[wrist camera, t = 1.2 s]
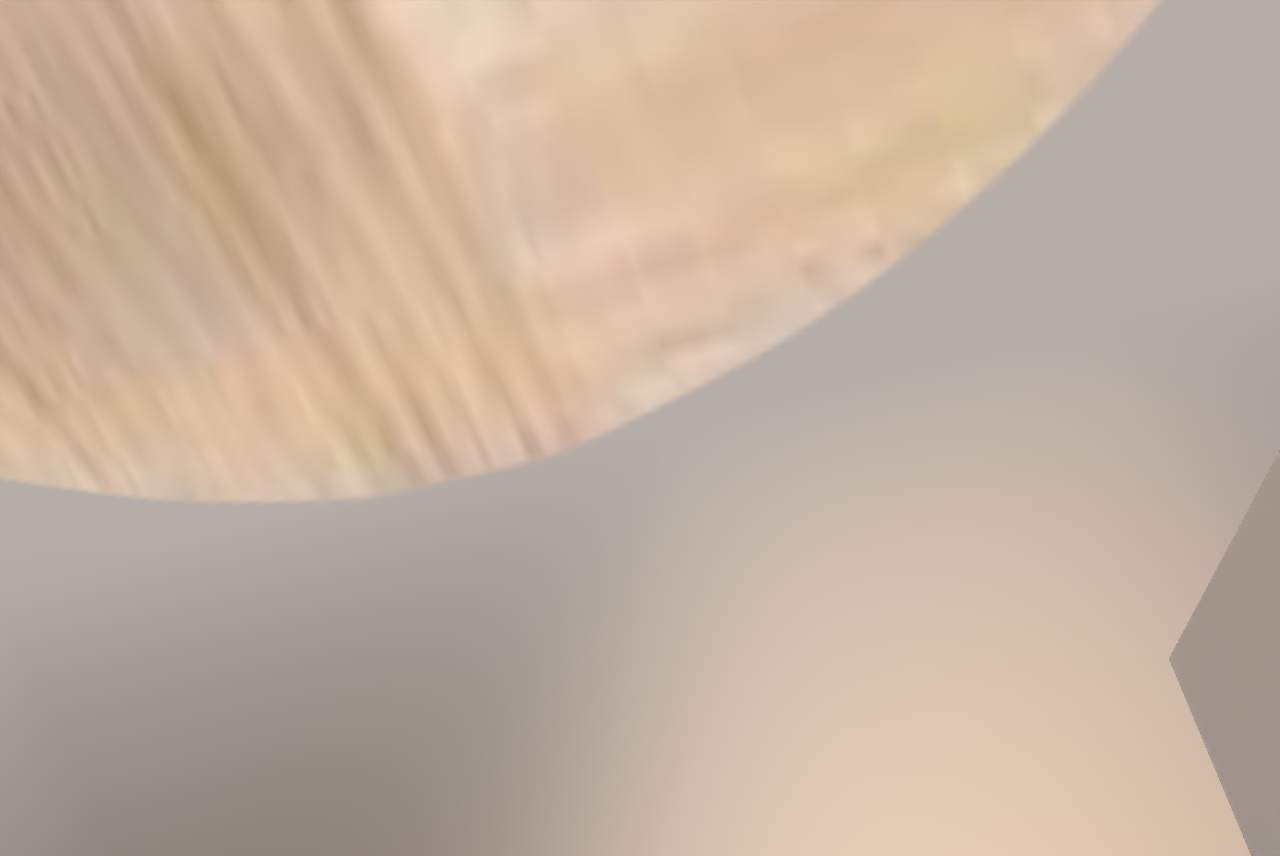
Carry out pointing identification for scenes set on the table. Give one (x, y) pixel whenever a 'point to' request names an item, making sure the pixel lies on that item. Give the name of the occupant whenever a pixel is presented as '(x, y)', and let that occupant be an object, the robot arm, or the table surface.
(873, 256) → the table surface
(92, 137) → the table surface
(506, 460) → the table surface
